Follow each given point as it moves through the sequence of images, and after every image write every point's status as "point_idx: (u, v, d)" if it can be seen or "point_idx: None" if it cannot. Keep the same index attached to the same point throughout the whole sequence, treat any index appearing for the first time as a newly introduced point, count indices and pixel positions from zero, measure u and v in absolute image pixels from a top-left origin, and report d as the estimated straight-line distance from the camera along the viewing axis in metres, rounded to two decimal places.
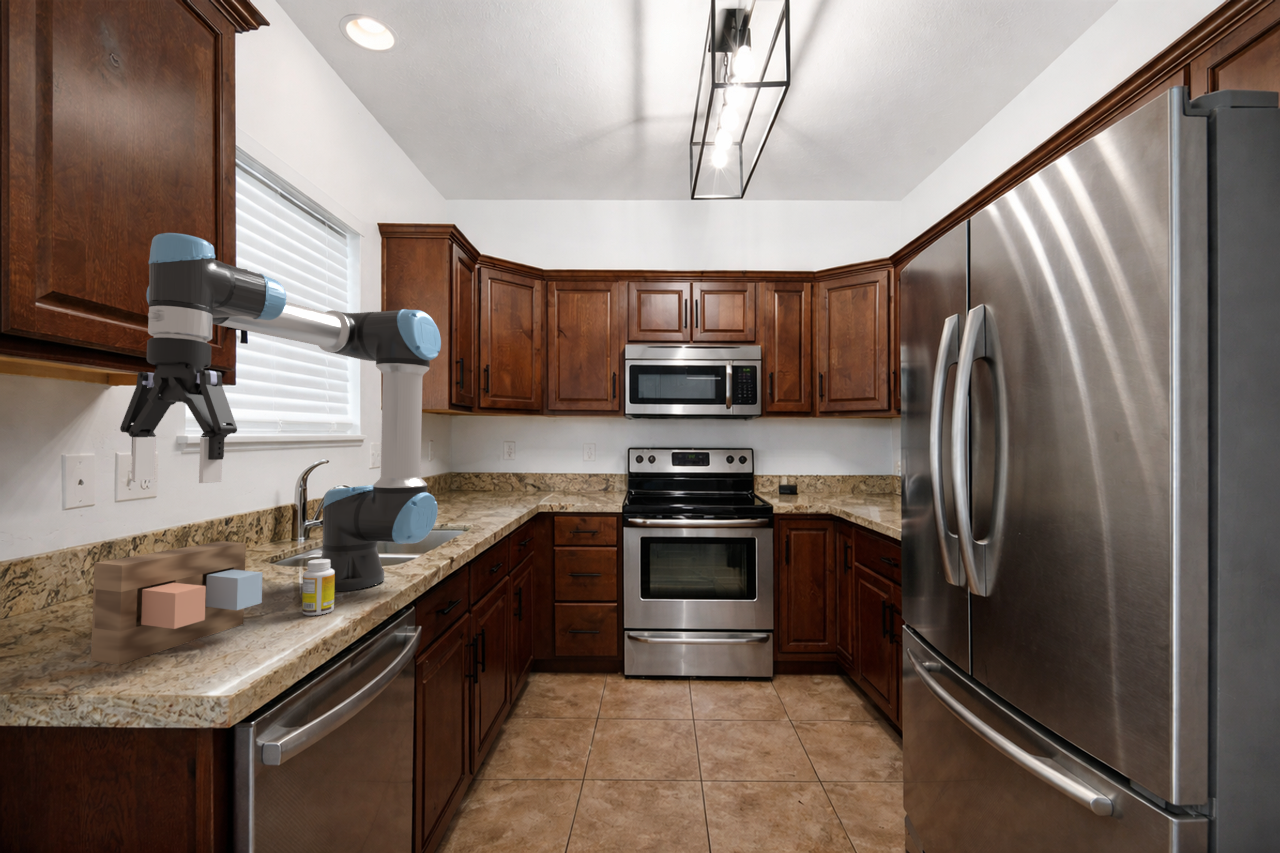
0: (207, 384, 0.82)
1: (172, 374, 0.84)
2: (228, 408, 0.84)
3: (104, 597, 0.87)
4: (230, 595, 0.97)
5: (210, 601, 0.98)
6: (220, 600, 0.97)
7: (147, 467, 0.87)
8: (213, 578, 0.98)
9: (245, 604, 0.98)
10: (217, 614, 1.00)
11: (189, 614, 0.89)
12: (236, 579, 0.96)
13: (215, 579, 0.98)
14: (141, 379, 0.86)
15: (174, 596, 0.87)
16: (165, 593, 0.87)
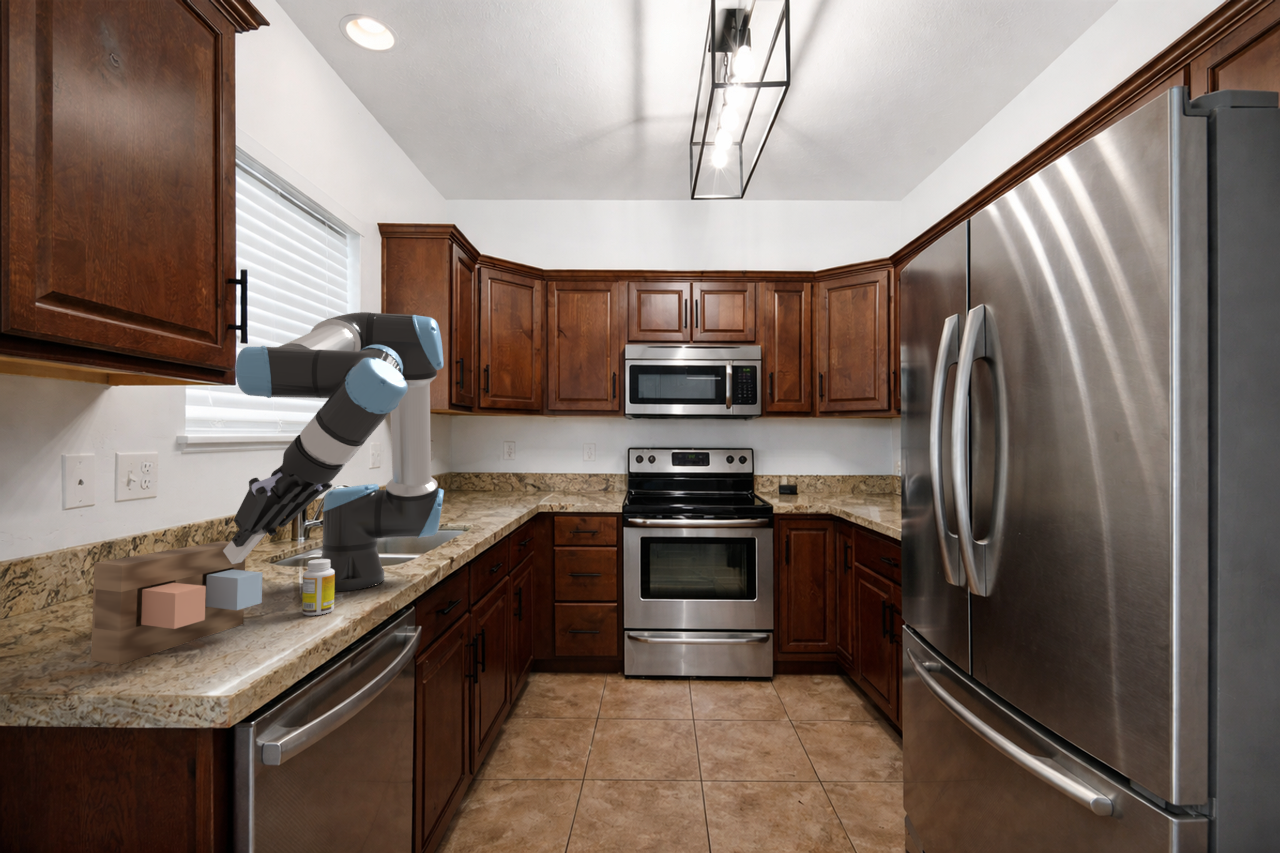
0: (250, 490, 0.79)
1: None
2: (248, 517, 0.80)
3: (104, 597, 0.87)
4: (230, 595, 0.97)
5: (210, 601, 0.98)
6: (220, 600, 0.97)
7: None
8: (213, 578, 0.98)
9: (245, 604, 0.98)
10: (217, 614, 1.00)
11: (189, 614, 0.89)
12: (236, 579, 0.96)
13: (215, 579, 0.98)
14: None
15: (174, 596, 0.87)
16: (165, 593, 0.87)
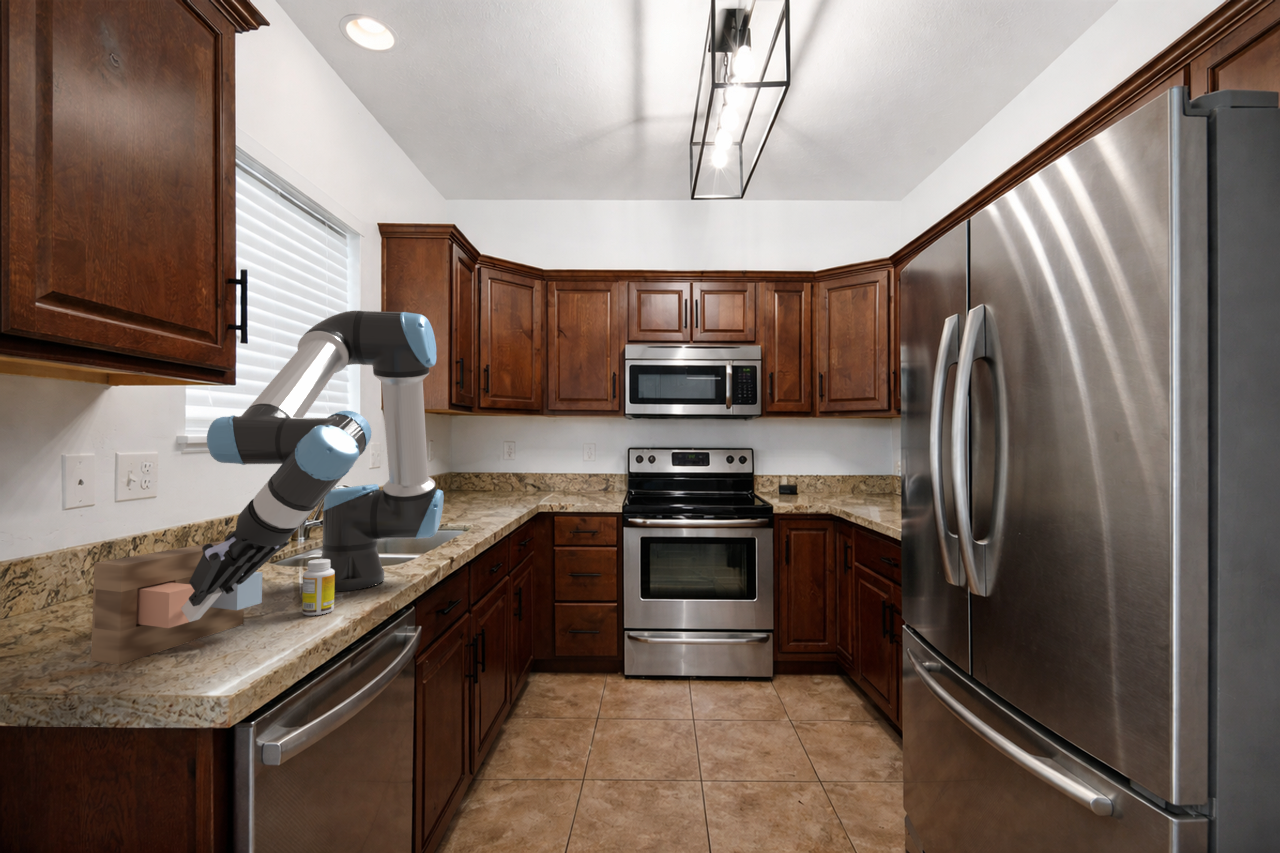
0: (204, 554, 0.81)
1: None
2: (203, 580, 0.82)
3: (104, 597, 0.87)
4: (230, 595, 0.97)
5: None
6: (220, 600, 0.97)
7: None
8: None
9: (245, 604, 0.98)
10: (217, 614, 1.00)
11: (183, 613, 0.89)
12: None
13: None
14: None
15: (169, 595, 0.87)
16: (159, 592, 0.88)
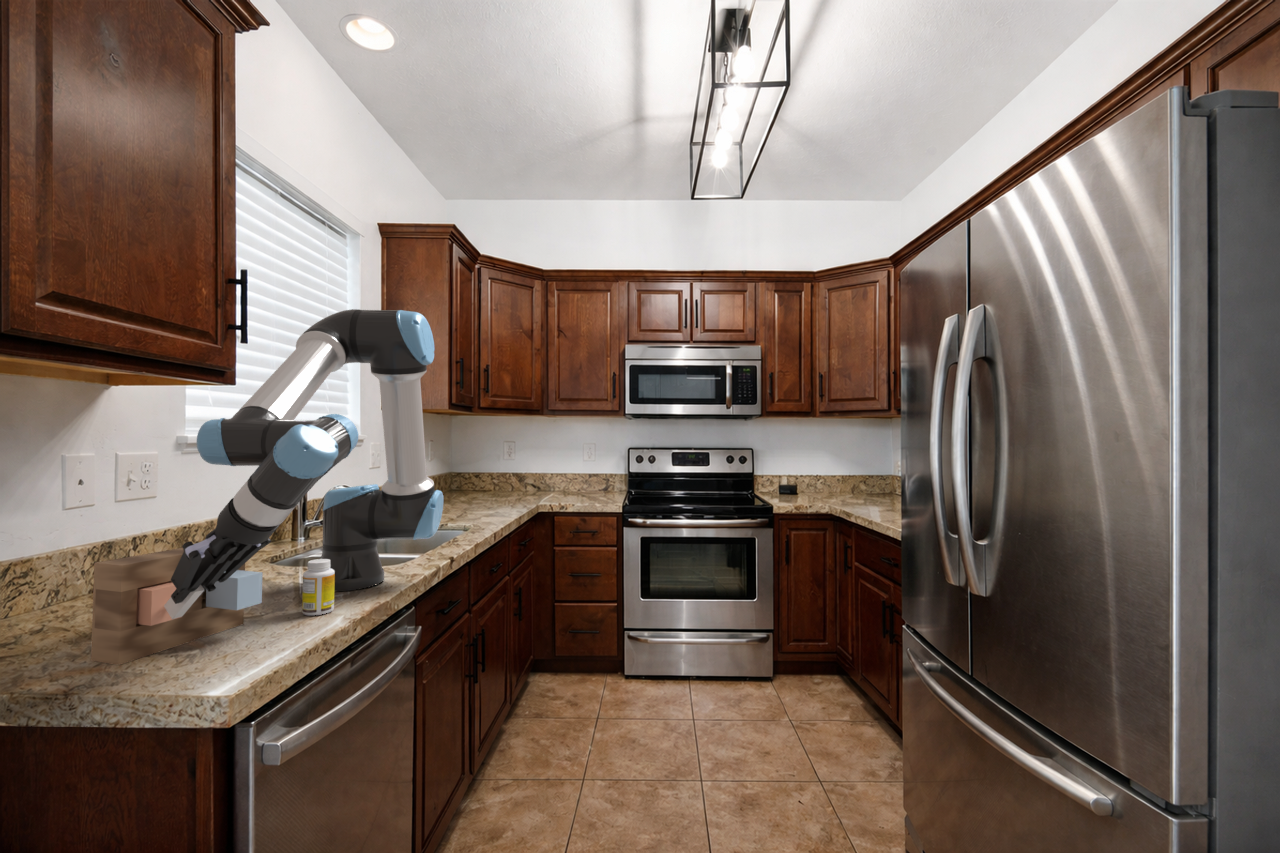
0: (184, 552, 0.82)
1: None
2: (183, 577, 0.83)
3: (104, 597, 0.87)
4: (230, 595, 0.97)
5: (210, 601, 0.98)
6: (220, 600, 0.97)
7: None
8: None
9: (245, 604, 0.98)
10: (217, 614, 1.00)
11: (165, 611, 0.90)
12: (236, 579, 0.96)
13: None
14: None
15: (151, 593, 0.88)
16: (142, 590, 0.89)
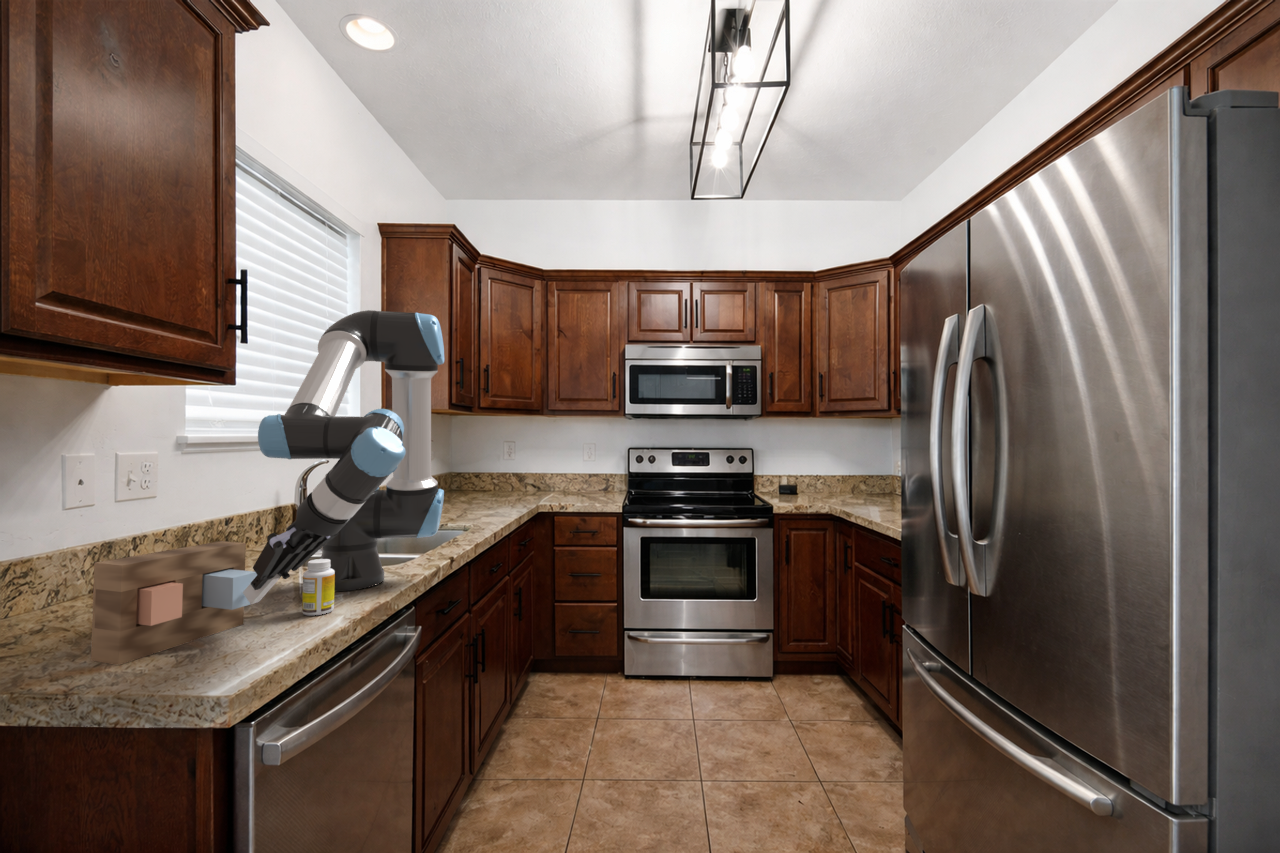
0: (268, 543, 0.91)
1: None
2: (266, 565, 0.92)
3: (104, 597, 0.87)
4: (225, 595, 0.97)
5: (206, 600, 0.98)
6: (215, 600, 0.97)
7: None
8: (209, 578, 0.98)
9: (240, 603, 0.98)
10: (217, 614, 1.00)
11: (165, 611, 0.90)
12: (231, 579, 0.97)
13: (210, 578, 0.98)
14: None
15: (151, 593, 0.88)
16: (142, 590, 0.89)
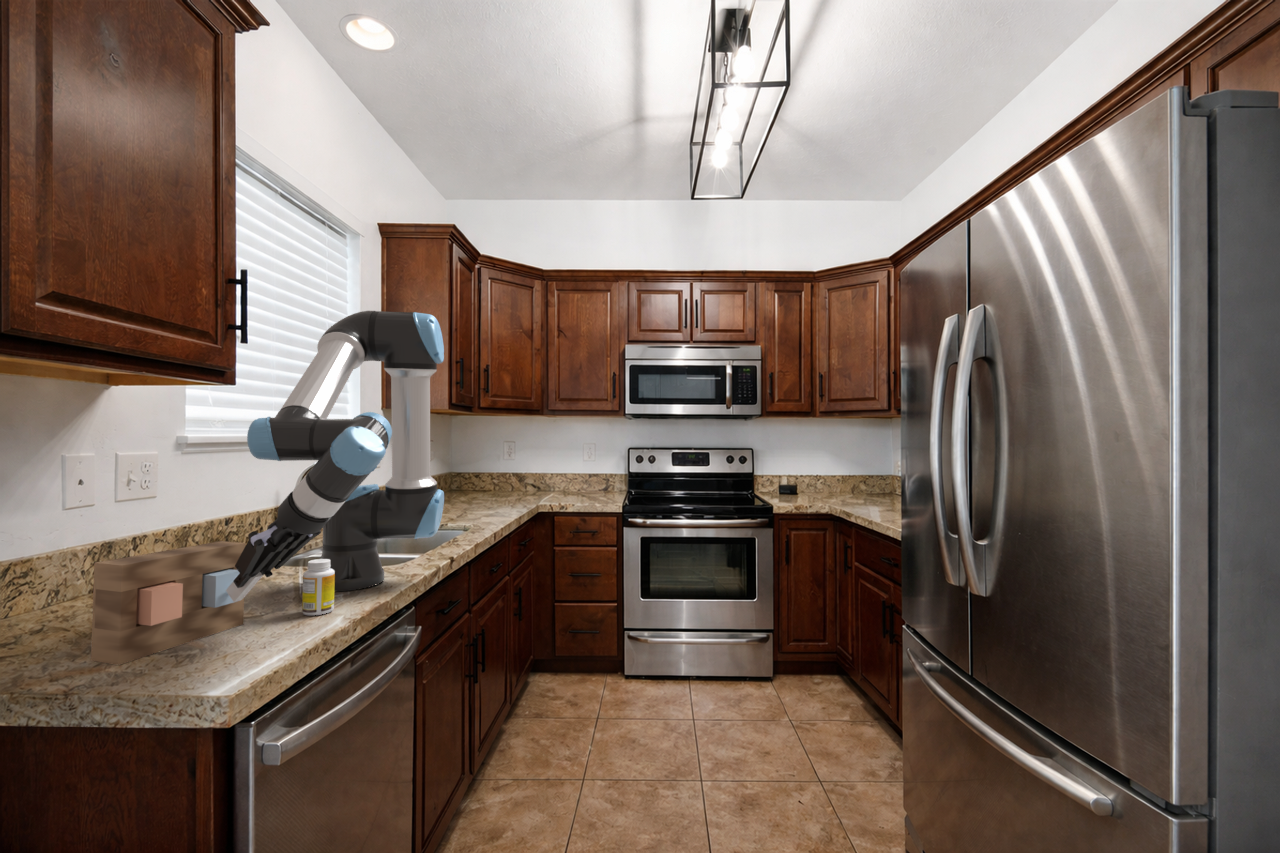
0: (249, 541, 0.92)
1: None
2: (247, 563, 0.93)
3: (104, 597, 0.87)
4: (208, 593, 0.98)
5: None
6: None
7: None
8: None
9: (223, 602, 0.99)
10: (217, 614, 1.00)
11: (165, 611, 0.90)
12: (214, 577, 0.98)
13: None
14: None
15: (151, 593, 0.88)
16: (142, 590, 0.89)
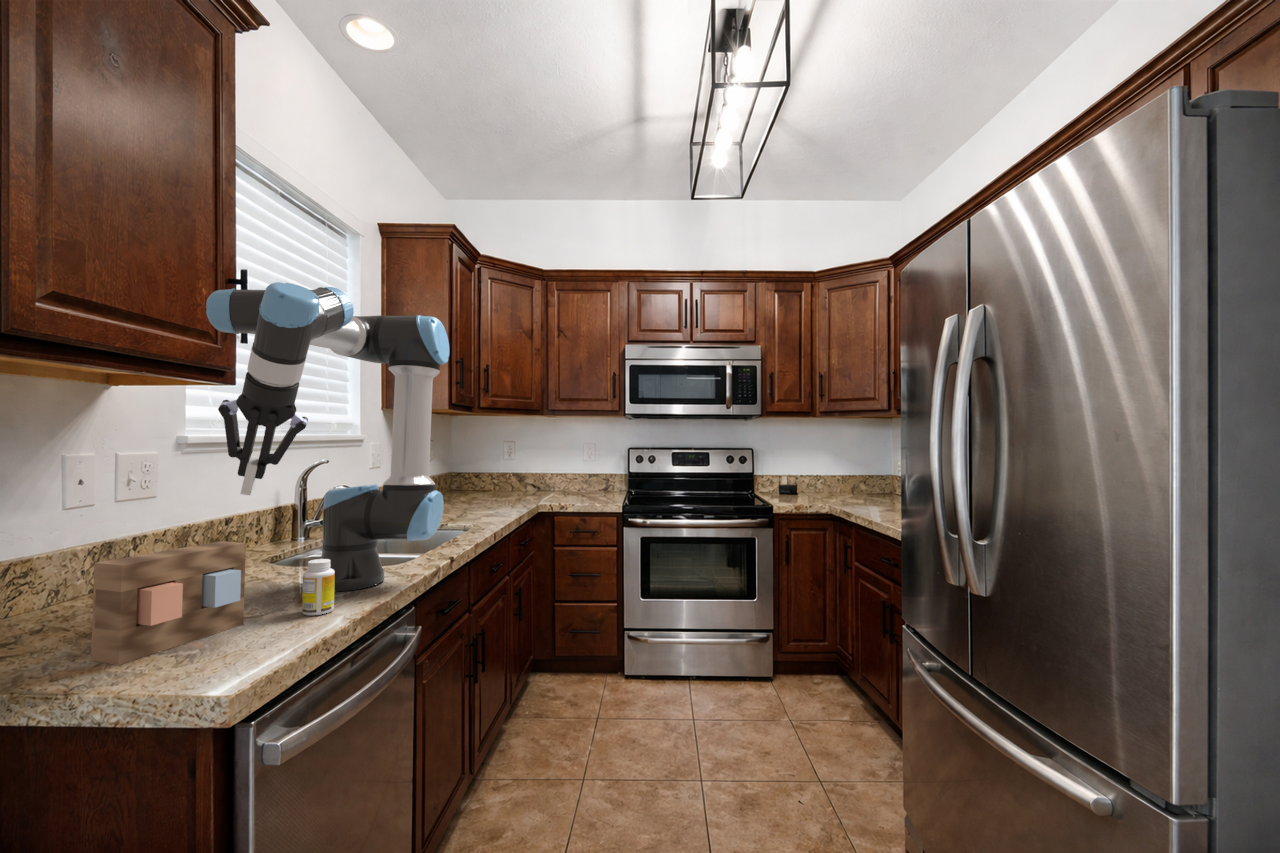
0: None
1: None
2: None
3: (104, 597, 0.87)
4: (208, 593, 0.98)
5: None
6: None
7: None
8: None
9: (223, 601, 0.99)
10: (217, 614, 1.00)
11: (165, 611, 0.90)
12: (214, 577, 0.98)
13: None
14: None
15: (151, 593, 0.88)
16: (142, 590, 0.89)
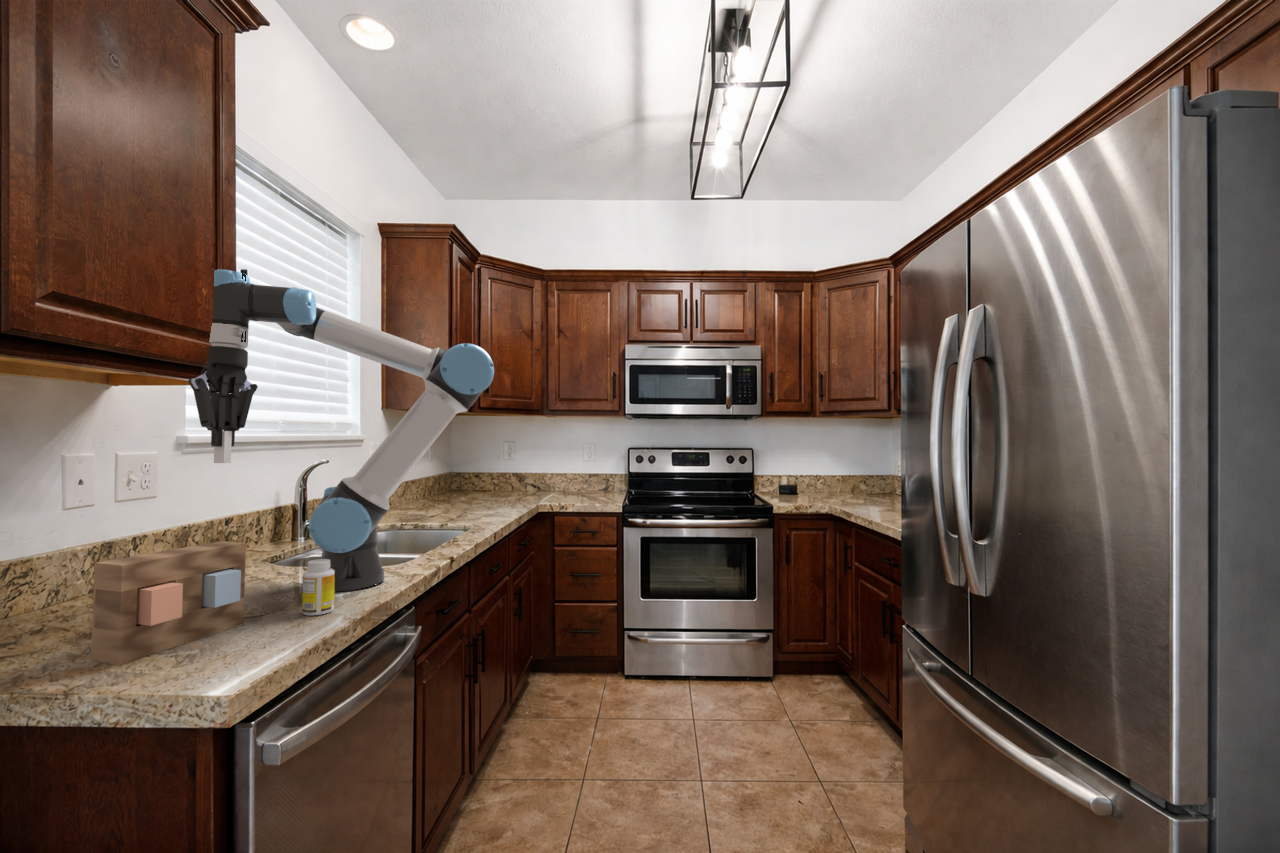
0: None
1: (229, 373, 1.16)
2: None
3: (104, 597, 0.87)
4: (208, 593, 0.98)
5: None
6: None
7: None
8: None
9: (223, 601, 0.99)
10: (217, 614, 1.00)
11: (165, 611, 0.90)
12: (214, 577, 0.98)
13: None
14: (203, 383, 1.10)
15: (151, 593, 0.88)
16: (142, 590, 0.89)
